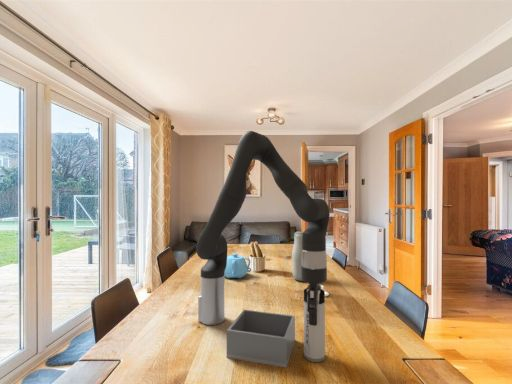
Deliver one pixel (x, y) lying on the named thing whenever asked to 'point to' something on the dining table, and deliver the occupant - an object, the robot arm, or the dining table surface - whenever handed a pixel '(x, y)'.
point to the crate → (261, 338)
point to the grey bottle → (297, 255)
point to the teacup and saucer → (324, 291)
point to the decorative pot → (236, 266)
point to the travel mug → (314, 331)
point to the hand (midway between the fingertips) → (314, 318)
